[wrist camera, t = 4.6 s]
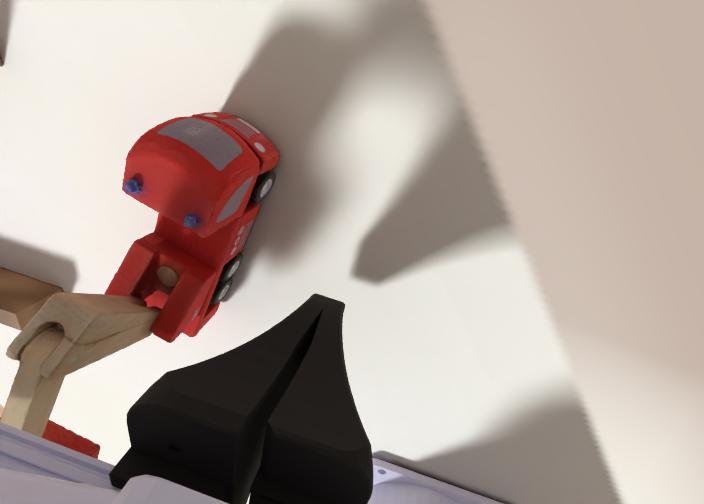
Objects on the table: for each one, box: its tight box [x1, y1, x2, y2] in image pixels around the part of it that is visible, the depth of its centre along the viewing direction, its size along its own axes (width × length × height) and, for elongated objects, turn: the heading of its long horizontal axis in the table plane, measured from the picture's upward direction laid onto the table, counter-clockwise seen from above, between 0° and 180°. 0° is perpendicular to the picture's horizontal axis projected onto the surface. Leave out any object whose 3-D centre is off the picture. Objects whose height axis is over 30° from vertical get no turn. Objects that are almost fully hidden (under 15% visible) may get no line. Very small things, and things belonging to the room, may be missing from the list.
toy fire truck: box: [0, 112, 280, 459], centre depth 12 cm, size 3×14×10 cm, turn 151°
